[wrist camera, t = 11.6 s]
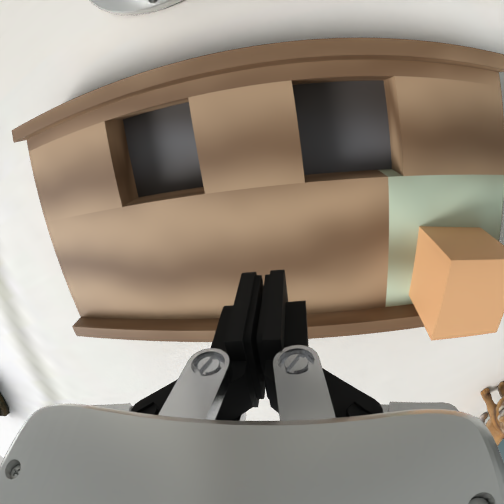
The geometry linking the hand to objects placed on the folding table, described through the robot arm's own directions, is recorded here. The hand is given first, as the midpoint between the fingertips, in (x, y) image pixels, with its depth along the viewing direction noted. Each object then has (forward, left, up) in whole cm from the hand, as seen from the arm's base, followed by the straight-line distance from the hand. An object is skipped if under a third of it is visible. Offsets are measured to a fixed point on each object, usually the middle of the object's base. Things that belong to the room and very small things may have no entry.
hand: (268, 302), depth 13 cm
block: (+3, +11, -8) cm, 14 cm away
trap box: (-2, -1, -11) cm, 11 cm away
